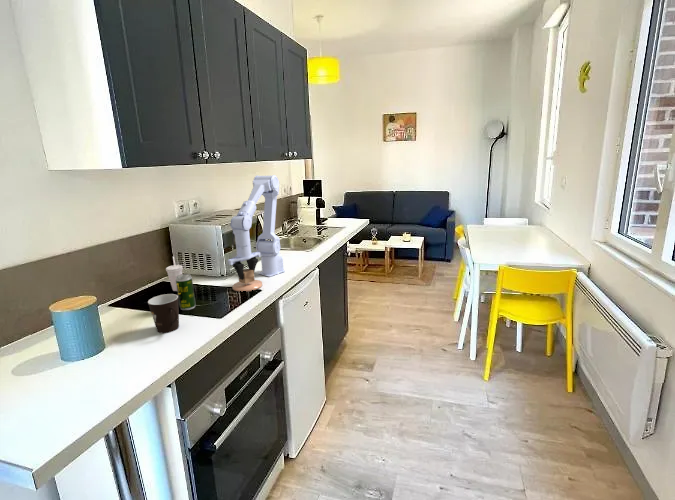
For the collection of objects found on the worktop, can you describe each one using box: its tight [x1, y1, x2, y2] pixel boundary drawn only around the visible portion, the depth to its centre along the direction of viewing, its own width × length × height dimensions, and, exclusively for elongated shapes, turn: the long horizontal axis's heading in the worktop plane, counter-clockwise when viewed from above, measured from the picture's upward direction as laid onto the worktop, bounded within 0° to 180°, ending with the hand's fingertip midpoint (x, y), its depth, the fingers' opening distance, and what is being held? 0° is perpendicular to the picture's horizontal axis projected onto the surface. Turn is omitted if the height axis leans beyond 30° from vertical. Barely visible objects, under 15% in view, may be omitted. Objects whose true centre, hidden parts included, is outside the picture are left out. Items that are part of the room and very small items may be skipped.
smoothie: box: [165, 256, 184, 292], centre depth 149 cm, size 6×6×14 cm
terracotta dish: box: [231, 279, 263, 293], centre depth 150 cm, size 12×12×1 cm
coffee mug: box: [147, 293, 180, 334], centre depth 113 cm, size 12×9×10 cm
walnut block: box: [237, 268, 256, 284], centre depth 149 cm, size 4×4×4 cm
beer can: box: [176, 273, 197, 311], centre depth 130 cm, size 5×5×12 cm
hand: (246, 277), depth 149 cm, fingers closed on walnut block, 4 cm apart
